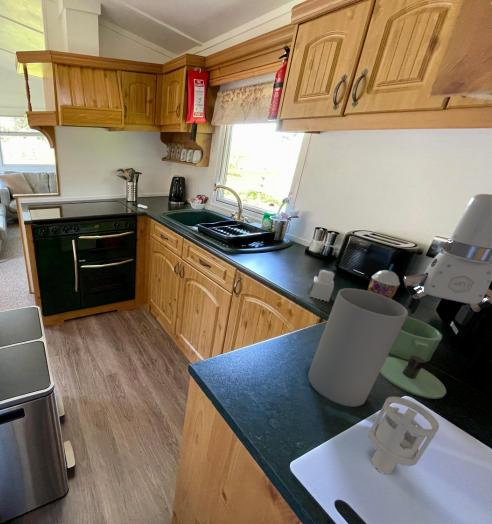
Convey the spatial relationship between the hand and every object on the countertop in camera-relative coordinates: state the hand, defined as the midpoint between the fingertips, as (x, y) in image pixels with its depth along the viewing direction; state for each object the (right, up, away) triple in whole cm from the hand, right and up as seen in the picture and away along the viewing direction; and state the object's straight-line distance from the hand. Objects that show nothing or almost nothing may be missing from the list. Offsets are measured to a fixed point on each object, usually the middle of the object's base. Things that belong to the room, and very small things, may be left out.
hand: (433, 316), depth 71 cm
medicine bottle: (+3, -1, +50) cm, 50 cm away
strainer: (-26, -26, -16) cm, 40 cm away
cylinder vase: (-23, -19, +2) cm, 30 cm away
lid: (0, -18, +7) cm, 19 cm away
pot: (+9, -14, +20) cm, 26 cm away
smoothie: (+18, -6, +41) cm, 45 cm away
